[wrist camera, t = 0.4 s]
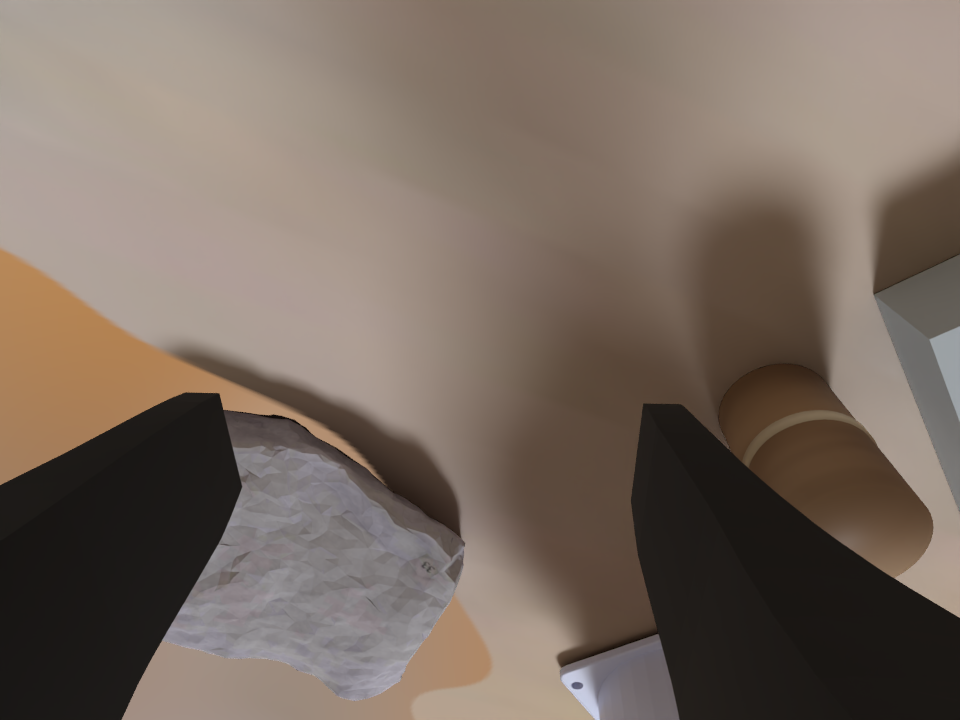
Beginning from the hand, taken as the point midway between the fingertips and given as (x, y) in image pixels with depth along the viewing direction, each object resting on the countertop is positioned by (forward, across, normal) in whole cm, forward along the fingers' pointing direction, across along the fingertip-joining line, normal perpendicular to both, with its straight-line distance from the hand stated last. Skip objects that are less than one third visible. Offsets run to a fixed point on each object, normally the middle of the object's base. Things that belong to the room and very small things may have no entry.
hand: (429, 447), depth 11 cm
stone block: (+10, +7, +11) cm, 17 cm away
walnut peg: (+10, -10, +5) cm, 15 cm away
